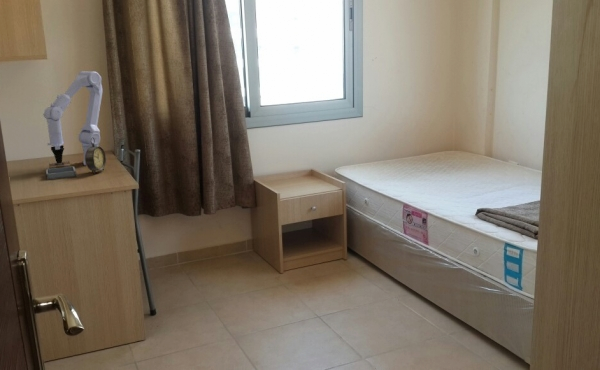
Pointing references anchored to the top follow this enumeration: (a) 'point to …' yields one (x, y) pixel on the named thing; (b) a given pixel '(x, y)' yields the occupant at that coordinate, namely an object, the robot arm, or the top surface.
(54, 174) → the tray
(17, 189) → the top surface
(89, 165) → the alarm clock
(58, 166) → the block
